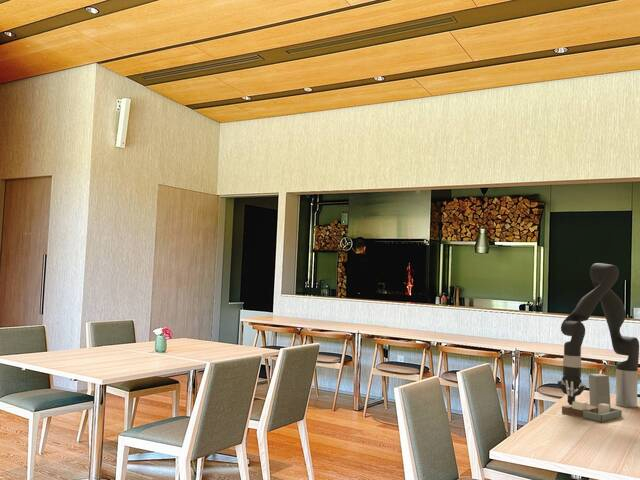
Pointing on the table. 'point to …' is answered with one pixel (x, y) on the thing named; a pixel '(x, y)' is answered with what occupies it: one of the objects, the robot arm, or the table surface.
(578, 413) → the walnut board
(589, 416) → the tray
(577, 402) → the cream square block
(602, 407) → the tile
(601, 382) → the skincare box
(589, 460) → the table surface
